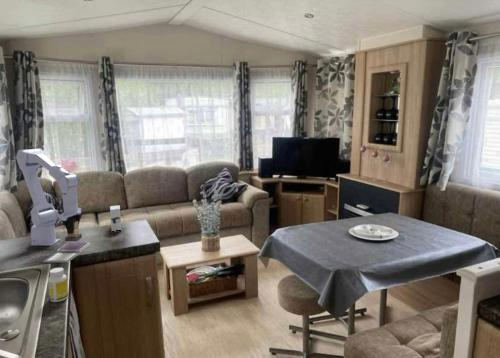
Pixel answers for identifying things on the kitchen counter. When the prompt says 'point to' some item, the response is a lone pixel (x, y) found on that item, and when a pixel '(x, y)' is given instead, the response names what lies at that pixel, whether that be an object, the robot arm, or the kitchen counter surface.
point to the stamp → (74, 234)
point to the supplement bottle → (57, 285)
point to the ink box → (115, 218)
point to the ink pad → (74, 247)
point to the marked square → (61, 257)
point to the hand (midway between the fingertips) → (72, 232)
